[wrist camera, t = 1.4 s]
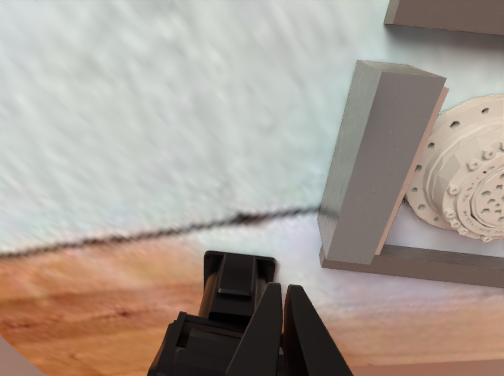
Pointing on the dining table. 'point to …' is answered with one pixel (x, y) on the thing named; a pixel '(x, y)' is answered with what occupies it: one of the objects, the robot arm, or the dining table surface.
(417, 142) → the block
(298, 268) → the dining table surface
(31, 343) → the dining table surface
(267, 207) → the dining table surface
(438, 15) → the vise
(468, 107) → the mechanical component
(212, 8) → the dining table surface
